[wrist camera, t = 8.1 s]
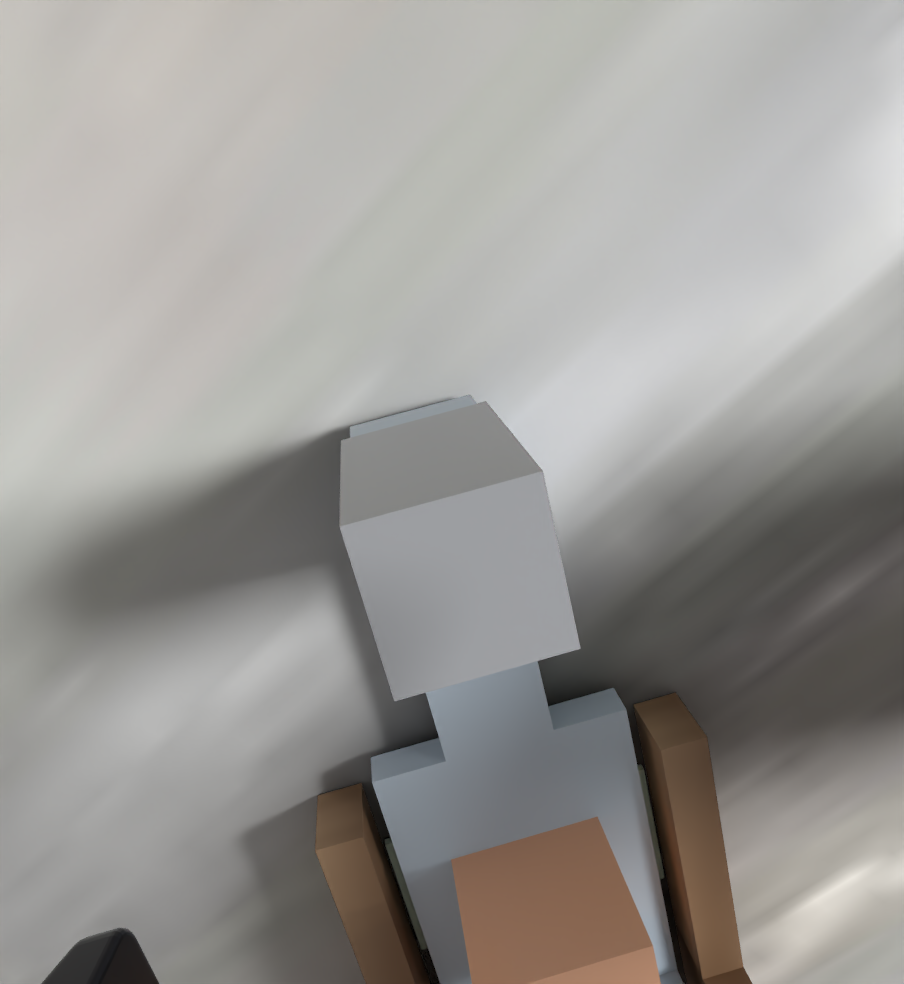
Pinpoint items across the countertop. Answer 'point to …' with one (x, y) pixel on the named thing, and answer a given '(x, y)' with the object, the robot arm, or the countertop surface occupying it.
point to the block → (552, 912)
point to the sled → (481, 664)
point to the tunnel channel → (682, 834)
